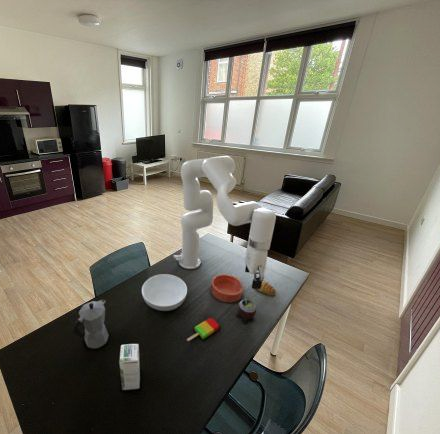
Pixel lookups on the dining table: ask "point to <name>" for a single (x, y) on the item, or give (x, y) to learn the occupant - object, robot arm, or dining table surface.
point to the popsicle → (205, 329)
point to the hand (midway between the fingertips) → (252, 279)
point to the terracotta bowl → (226, 288)
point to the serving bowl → (164, 292)
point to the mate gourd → (246, 308)
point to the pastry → (267, 288)
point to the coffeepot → (92, 324)
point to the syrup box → (130, 366)
